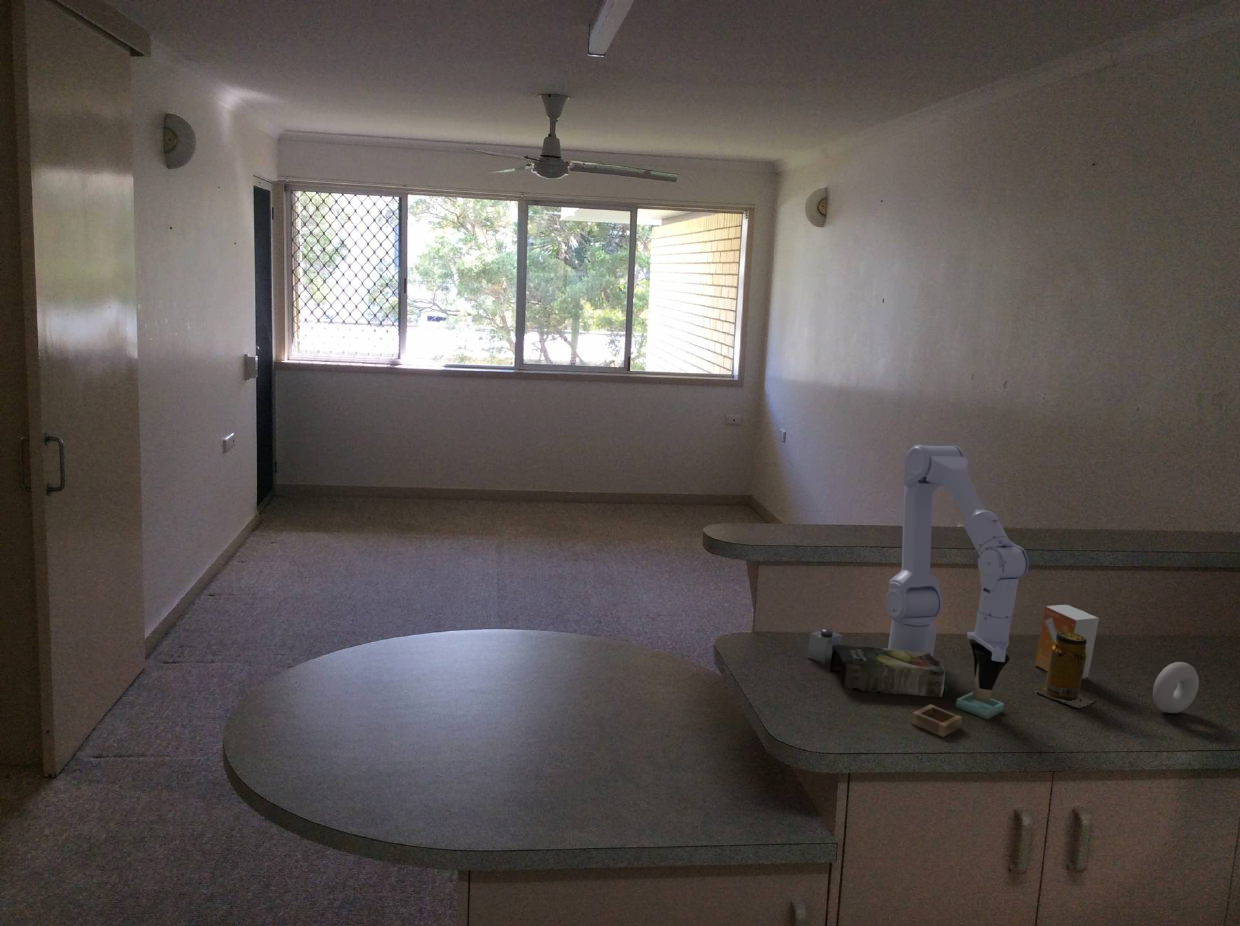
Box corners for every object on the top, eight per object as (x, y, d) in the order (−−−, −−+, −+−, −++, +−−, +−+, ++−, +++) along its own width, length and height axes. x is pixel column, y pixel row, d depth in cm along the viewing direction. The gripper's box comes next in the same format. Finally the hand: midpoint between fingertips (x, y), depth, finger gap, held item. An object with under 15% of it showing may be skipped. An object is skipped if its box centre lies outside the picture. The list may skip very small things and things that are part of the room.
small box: (1033, 666, 203) (1044, 605, 201) (1057, 663, 206) (1067, 603, 203) (1064, 682, 196) (1076, 619, 194) (1088, 679, 199) (1100, 617, 196)
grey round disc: (1160, 720, 182) (1171, 668, 180) (1144, 711, 185) (1154, 661, 183) (1197, 714, 186) (1207, 663, 184) (1180, 706, 189) (1190, 656, 187)
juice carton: (931, 677, 193) (935, 647, 192) (948, 699, 184) (953, 668, 183) (828, 671, 193) (831, 641, 191) (840, 693, 183) (844, 662, 182)
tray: (971, 699, 184) (973, 691, 184) (1002, 711, 180) (1004, 703, 180) (955, 706, 180) (956, 699, 180) (986, 719, 176) (988, 711, 175)
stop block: (822, 652, 201) (825, 624, 200) (838, 658, 198) (842, 631, 197) (807, 657, 198) (810, 629, 197) (824, 664, 195) (827, 635, 194)
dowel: (972, 693, 181) (978, 652, 180) (989, 697, 180) (996, 655, 179) (972, 700, 179) (979, 657, 177) (990, 703, 178) (997, 661, 176)
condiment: (1053, 685, 194) (1063, 627, 192) (1096, 702, 188) (1107, 642, 185) (1034, 693, 190) (1044, 633, 187) (1077, 710, 183) (1088, 648, 181)
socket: (929, 714, 176) (930, 704, 175) (960, 728, 171) (962, 717, 171) (911, 723, 171) (912, 712, 171) (942, 737, 167) (944, 725, 167)
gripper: (964, 597, 184) (953, 666, 187) (979, 623, 170) (967, 698, 172) (1003, 602, 183) (992, 671, 186) (1022, 628, 169) (1010, 703, 172)
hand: (983, 684), depth 179 cm, fingers closed on dowel, 3 cm apart
